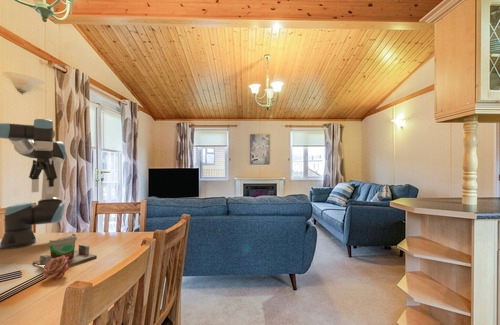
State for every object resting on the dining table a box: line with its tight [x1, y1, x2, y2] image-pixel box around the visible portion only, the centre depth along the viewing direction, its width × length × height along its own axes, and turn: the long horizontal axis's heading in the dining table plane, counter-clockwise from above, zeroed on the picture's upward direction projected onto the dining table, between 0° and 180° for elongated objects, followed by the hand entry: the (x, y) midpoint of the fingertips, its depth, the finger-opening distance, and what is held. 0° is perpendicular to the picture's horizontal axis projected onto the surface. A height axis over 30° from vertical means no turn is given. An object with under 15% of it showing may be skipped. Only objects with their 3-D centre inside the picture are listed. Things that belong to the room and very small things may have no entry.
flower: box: [42, 255, 70, 281], centre depth 101 cm, size 10×9×8 cm
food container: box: [48, 233, 78, 259], centre depth 118 cm, size 12×6×10 cm, turn 166°
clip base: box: [32, 243, 98, 268], centre depth 118 cm, size 18×18×5 cm
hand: (42, 192), depth 124 cm, fingers open, 13 cm apart
